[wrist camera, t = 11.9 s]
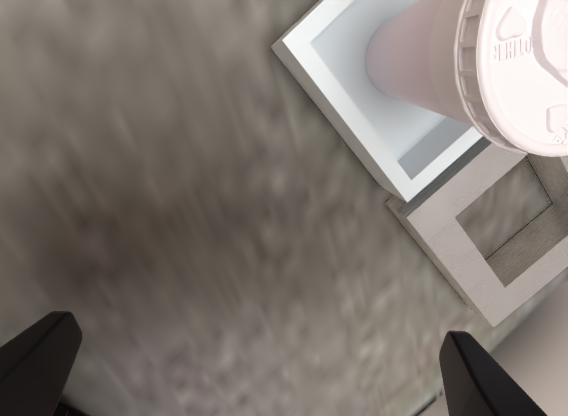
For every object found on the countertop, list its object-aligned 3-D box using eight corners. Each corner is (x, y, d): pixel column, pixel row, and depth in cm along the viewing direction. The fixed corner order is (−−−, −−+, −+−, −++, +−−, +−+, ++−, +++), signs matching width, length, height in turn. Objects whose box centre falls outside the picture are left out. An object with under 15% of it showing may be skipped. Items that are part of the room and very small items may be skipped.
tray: (380, 186, 21) (407, 202, 18) (269, 46, 17) (281, 40, 15) (512, 69, 20) (561, 67, 17) (424, -101, 17) (468, -138, 14)
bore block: (466, 305, 25) (493, 327, 23) (384, 203, 21) (406, 217, 19) (587, 203, 24) (627, 216, 22) (524, 78, 21) (565, 78, 18)
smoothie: (425, -47, 17) (1161, -480, 4) (477, 74, 19) (1040, 56, 6) (314, 40, 17) (658, -95, 4) (379, 148, 19) (725, 279, 6)
